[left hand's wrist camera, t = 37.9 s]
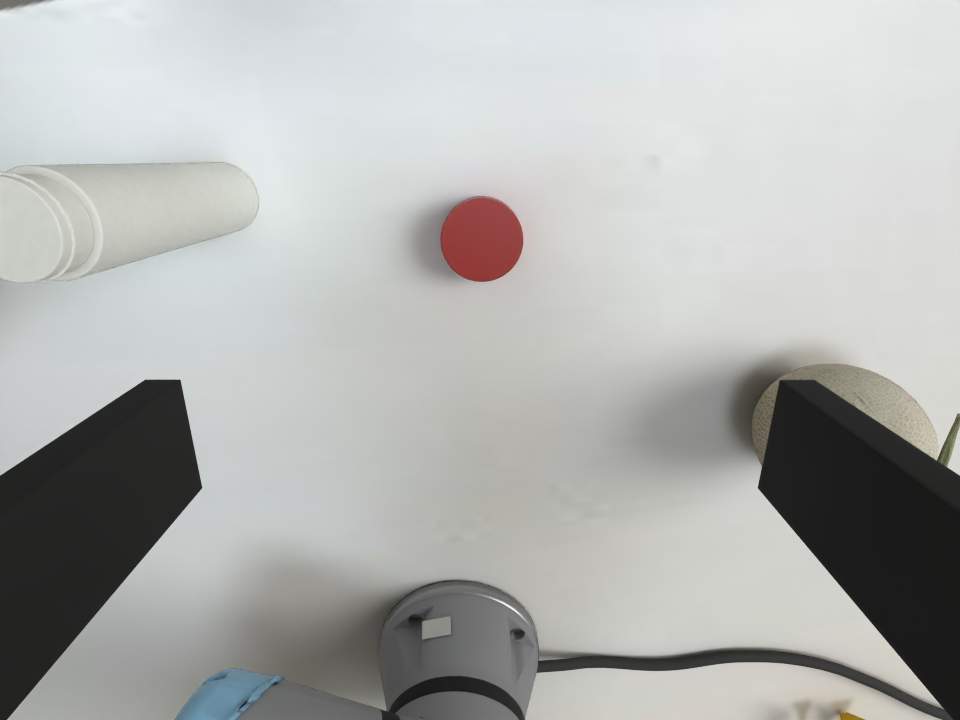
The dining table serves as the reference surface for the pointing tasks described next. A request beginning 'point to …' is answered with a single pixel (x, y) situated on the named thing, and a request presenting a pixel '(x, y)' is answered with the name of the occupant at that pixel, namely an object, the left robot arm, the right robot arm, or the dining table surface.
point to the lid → (481, 239)
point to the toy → (849, 717)
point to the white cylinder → (113, 214)
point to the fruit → (861, 407)
